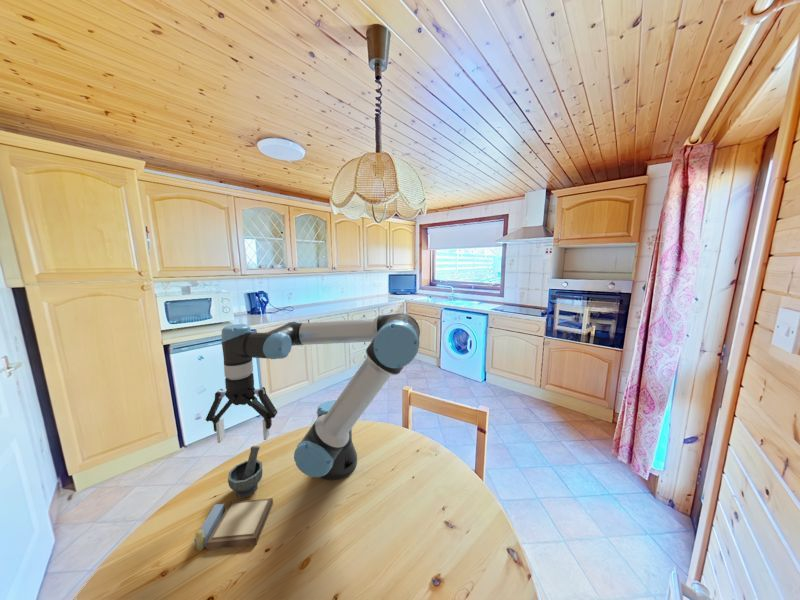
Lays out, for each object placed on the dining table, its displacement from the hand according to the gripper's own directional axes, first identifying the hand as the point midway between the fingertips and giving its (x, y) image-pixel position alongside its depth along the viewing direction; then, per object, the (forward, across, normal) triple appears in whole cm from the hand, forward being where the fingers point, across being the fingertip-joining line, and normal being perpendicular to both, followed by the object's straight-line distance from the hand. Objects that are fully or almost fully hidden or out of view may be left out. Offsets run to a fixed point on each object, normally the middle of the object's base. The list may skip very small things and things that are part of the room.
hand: (244, 438), depth 85 cm
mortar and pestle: (+18, 0, 0) cm, 18 cm away
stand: (+17, -4, +13) cm, 22 cm away
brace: (+17, +4, +14) cm, 22 cm away
